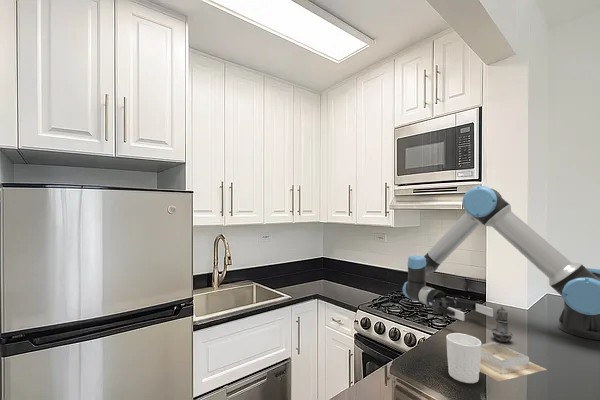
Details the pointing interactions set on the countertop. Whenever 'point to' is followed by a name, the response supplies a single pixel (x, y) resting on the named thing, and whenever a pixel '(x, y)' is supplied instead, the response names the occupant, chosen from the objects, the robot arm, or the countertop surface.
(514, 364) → the collar
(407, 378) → the countertop surface
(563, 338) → the countertop surface
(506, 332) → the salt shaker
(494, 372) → the flange board
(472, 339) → the white cup
